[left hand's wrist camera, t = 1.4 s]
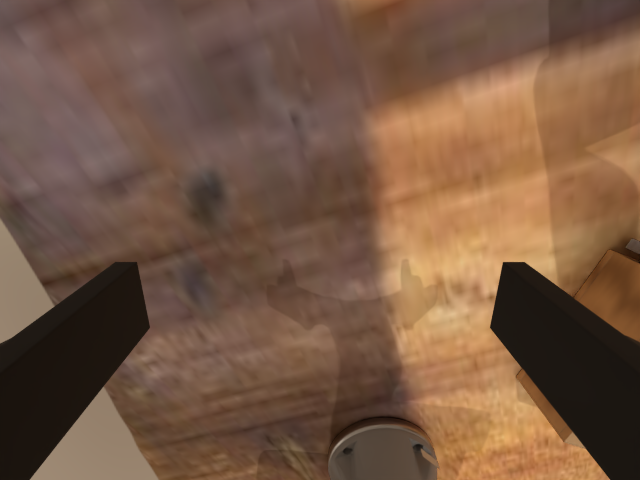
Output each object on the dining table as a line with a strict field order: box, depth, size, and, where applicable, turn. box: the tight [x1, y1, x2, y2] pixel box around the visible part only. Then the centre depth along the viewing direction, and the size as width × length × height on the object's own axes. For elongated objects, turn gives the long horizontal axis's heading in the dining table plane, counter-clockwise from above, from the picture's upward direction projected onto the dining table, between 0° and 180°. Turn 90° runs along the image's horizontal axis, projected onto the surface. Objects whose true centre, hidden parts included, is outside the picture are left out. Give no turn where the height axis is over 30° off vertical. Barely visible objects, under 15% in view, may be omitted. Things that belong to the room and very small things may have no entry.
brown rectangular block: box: [516, 249, 640, 449], centre depth 38 cm, size 19×11×10 cm, turn 159°
